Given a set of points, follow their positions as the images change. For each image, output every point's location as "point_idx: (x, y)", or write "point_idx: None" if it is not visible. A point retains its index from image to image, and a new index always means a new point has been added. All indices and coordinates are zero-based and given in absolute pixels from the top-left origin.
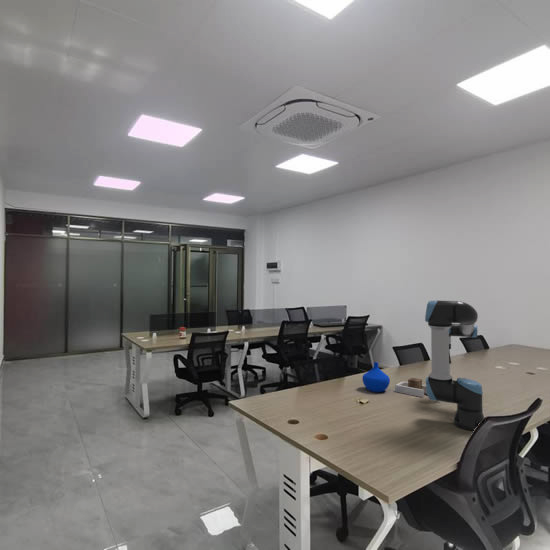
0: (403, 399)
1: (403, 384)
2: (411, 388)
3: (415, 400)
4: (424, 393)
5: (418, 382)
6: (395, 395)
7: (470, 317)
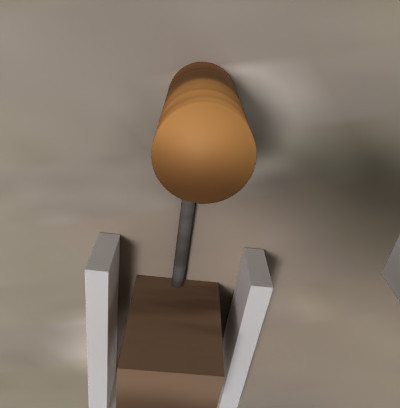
0: (384, 330)
1: None
2: (251, 355)
3: (376, 274)
4: (185, 260)
5: (223, 367)
6: (313, 374)
7: None
